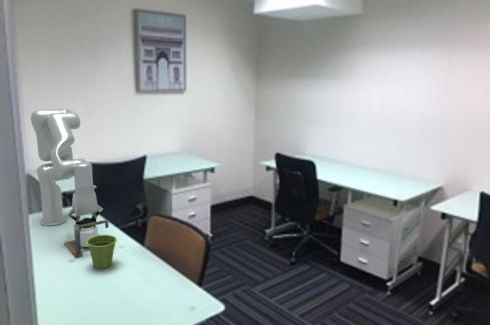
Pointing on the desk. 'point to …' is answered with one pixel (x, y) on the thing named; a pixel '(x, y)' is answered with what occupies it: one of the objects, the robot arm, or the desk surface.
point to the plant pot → (102, 250)
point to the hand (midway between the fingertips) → (86, 227)
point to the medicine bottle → (87, 231)
